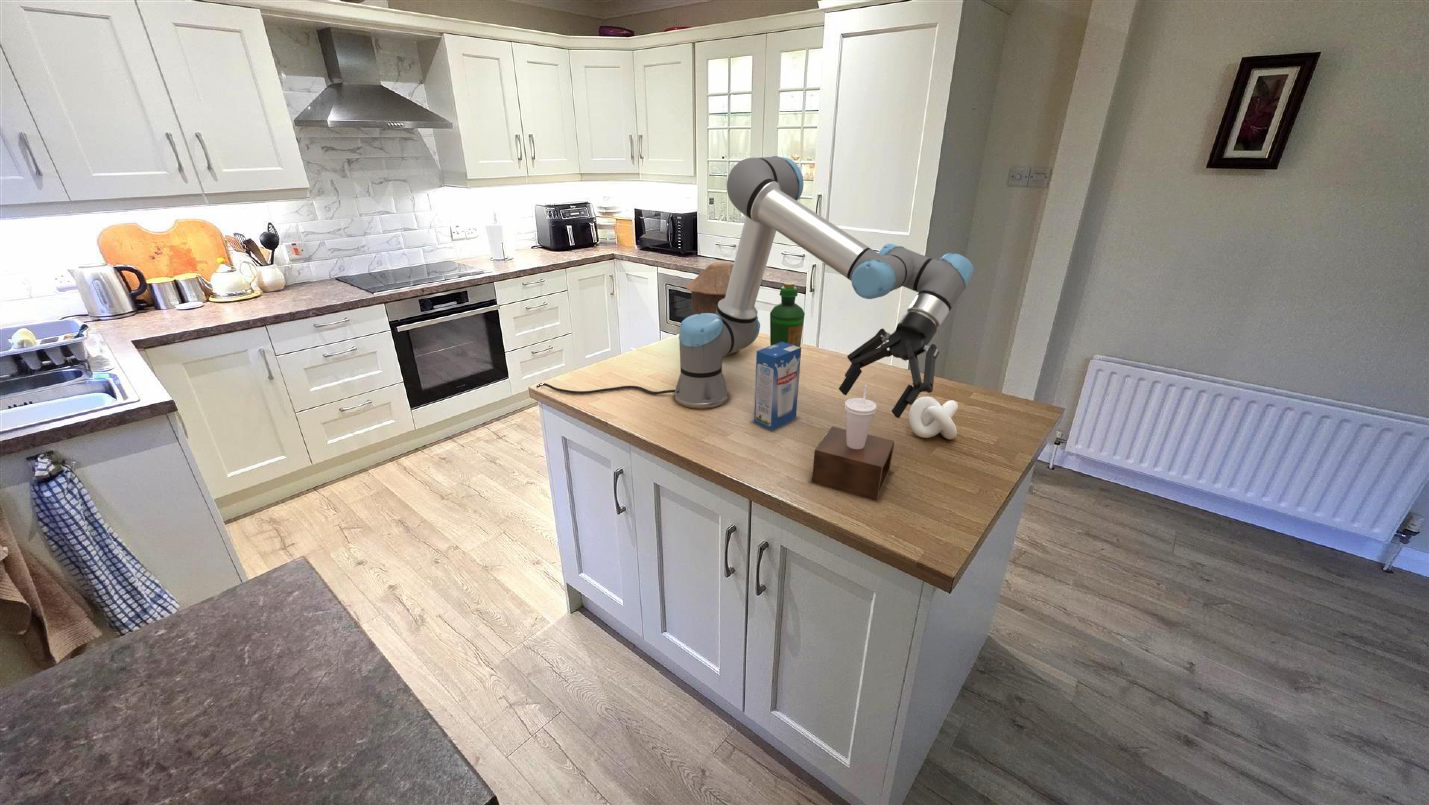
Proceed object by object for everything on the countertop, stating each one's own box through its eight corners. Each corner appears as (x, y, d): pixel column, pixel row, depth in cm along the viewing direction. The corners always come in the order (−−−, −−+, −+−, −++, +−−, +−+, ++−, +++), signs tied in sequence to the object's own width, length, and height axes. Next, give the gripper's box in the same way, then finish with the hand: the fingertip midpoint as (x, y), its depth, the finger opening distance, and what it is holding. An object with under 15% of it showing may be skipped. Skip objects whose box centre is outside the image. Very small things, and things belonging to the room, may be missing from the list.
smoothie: (871, 454, 114) (880, 392, 107) (840, 450, 115) (847, 389, 109) (870, 439, 119) (878, 380, 113) (840, 436, 120) (846, 377, 114)
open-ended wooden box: (811, 482, 119) (814, 449, 115) (828, 456, 128) (831, 425, 125) (876, 500, 113) (881, 466, 109) (889, 472, 122) (894, 440, 119)
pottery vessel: (725, 369, 176) (726, 276, 163) (670, 350, 192) (667, 264, 179) (773, 348, 194) (777, 263, 181) (719, 333, 209) (719, 253, 196)
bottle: (802, 376, 171) (809, 287, 159) (768, 376, 172) (772, 287, 159) (798, 363, 181) (804, 279, 169) (766, 363, 181) (770, 279, 169)
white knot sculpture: (921, 417, 146) (927, 387, 142) (966, 433, 139) (974, 401, 135) (901, 432, 139) (906, 400, 135) (948, 449, 131) (955, 416, 127)
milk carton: (778, 410, 150) (782, 341, 141) (796, 418, 146) (801, 347, 137) (753, 422, 143) (756, 350, 135) (771, 431, 139) (775, 357, 131)
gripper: (981, 346, 110) (925, 433, 108) (879, 316, 128) (829, 391, 126) (973, 325, 105) (913, 417, 103) (867, 297, 122) (815, 375, 121)
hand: (867, 403), depth 114 cm, fingers open, 13 cm apart
